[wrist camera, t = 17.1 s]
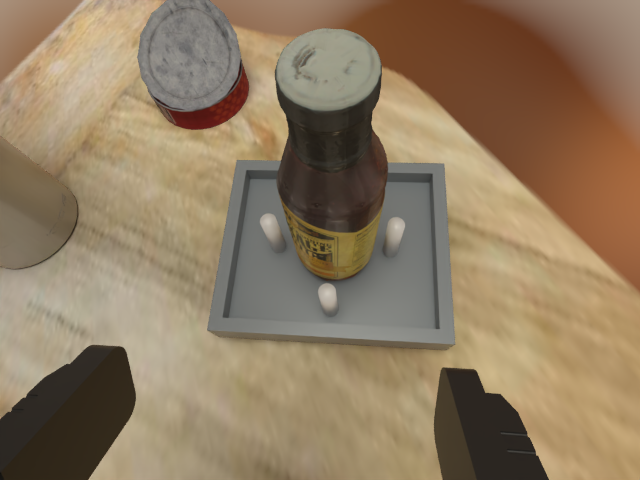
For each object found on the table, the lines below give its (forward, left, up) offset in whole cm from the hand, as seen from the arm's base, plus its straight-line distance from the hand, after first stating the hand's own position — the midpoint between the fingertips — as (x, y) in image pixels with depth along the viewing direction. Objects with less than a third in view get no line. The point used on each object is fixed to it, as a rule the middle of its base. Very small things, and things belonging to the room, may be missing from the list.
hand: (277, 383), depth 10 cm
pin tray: (0, +12, -22) cm, 25 cm away
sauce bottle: (0, +11, -20) cm, 23 cm away
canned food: (-15, +30, -22) cm, 40 cm away
